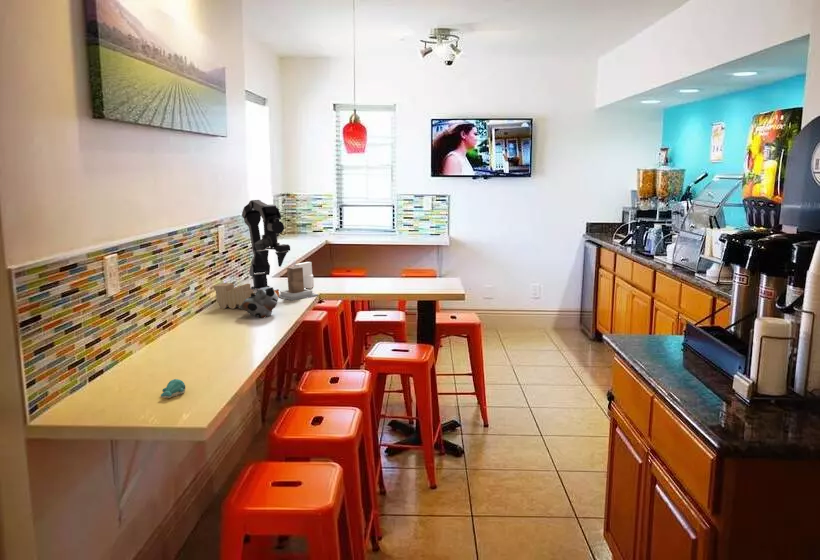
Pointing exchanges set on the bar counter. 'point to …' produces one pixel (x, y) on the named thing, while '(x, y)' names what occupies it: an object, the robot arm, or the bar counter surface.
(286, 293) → the bay tray
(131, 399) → the bar counter surface
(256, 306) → the lucky cat figurine
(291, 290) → the tapered wooden block
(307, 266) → the cylinder with rectangular tab
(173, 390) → the whale figurine
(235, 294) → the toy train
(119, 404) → the bar counter surface
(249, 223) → the robot arm
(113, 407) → the bar counter surface
